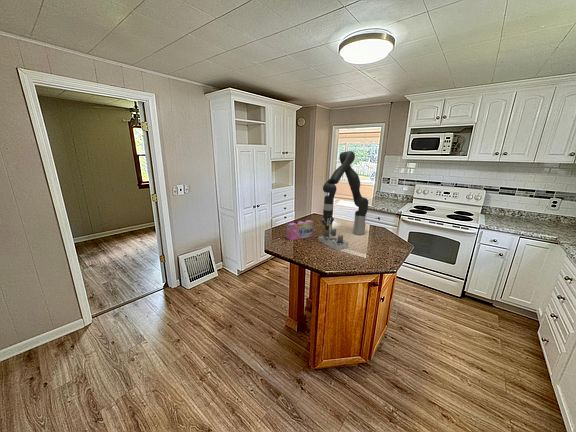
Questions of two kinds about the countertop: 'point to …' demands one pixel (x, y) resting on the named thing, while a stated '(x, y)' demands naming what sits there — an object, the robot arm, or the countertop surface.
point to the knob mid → (333, 232)
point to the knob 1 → (326, 233)
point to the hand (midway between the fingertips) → (326, 229)
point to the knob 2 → (340, 239)
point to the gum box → (299, 229)
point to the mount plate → (333, 242)
